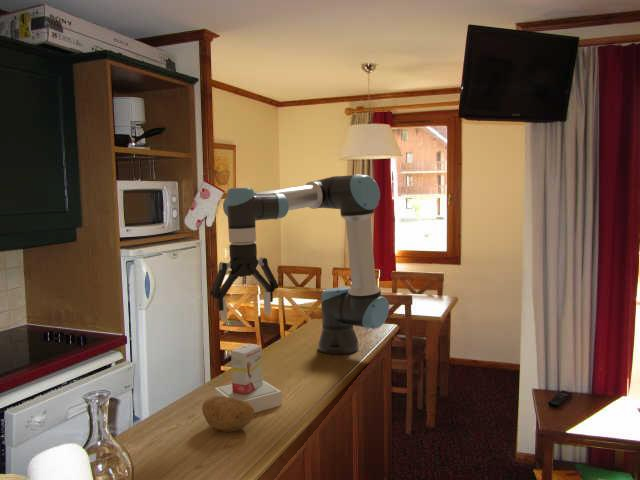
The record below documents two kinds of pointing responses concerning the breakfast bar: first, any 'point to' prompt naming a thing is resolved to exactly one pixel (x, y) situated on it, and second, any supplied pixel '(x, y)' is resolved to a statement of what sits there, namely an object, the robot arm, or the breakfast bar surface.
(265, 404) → the block
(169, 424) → the breakfast bar surface
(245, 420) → the potato
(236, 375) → the ink box
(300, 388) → the breakfast bar surface
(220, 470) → the breakfast bar surface
